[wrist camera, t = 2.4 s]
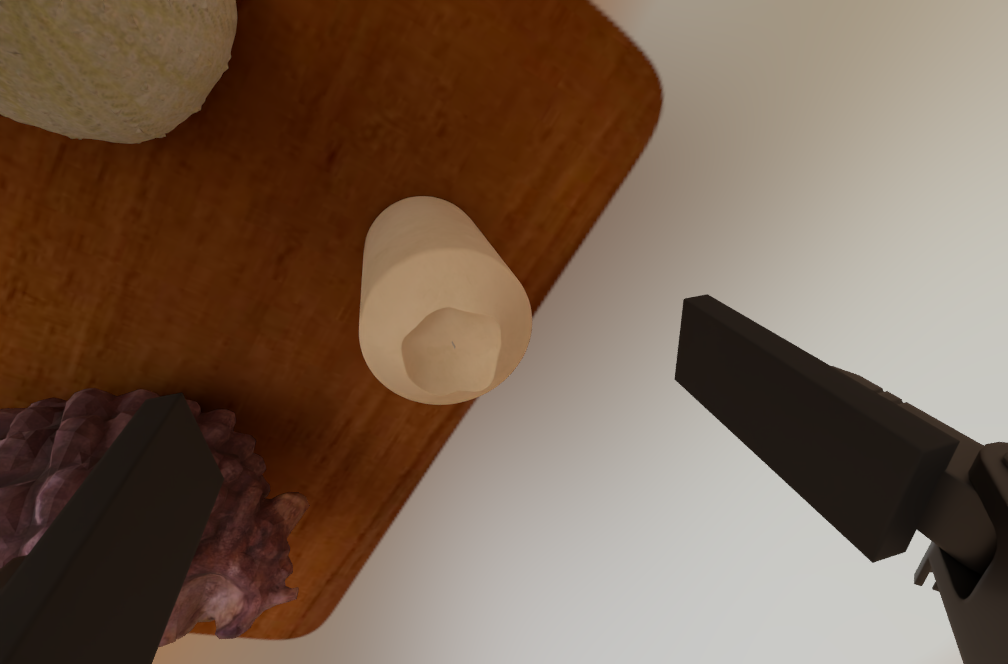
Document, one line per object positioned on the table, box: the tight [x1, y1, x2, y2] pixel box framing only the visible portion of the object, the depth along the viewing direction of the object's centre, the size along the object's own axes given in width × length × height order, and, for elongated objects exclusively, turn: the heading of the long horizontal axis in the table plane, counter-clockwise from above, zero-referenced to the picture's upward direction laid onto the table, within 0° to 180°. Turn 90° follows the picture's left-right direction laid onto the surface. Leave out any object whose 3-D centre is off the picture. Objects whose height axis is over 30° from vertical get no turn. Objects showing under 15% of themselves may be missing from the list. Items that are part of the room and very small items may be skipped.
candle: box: [359, 196, 532, 405], centre depth 18 cm, size 6×6×10 cm
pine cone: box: [0, 388, 310, 647], centre depth 19 cm, size 18×10×10 cm
